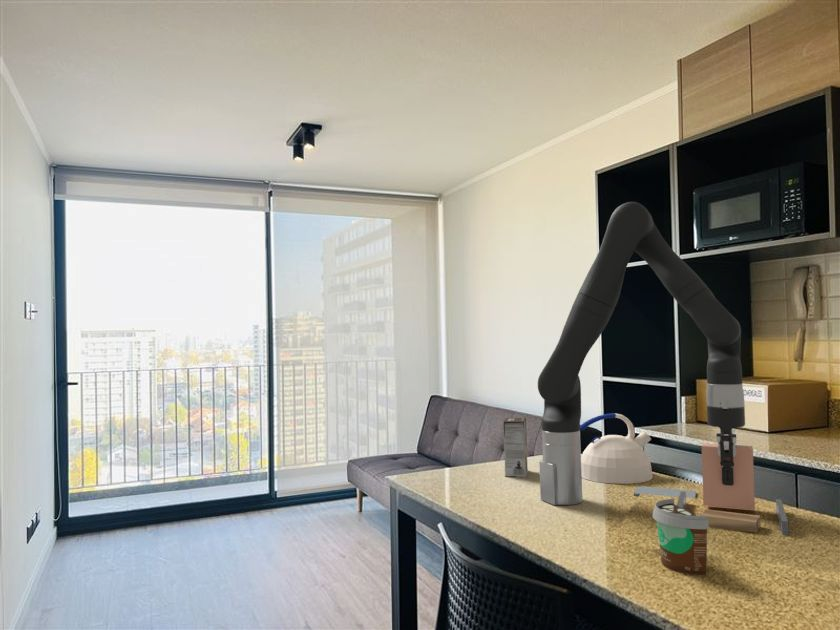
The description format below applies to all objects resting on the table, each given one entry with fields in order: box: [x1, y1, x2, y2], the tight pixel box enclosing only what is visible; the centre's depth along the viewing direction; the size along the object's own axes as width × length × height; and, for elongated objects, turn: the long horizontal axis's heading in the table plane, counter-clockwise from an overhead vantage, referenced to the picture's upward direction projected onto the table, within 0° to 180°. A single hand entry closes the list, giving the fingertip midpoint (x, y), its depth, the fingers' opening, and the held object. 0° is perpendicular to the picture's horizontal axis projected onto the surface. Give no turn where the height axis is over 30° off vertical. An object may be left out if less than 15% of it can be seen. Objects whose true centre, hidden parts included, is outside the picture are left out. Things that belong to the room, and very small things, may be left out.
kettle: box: [580, 412, 653, 485], centre depth 179 cm, size 20×21×18 cm
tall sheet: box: [701, 442, 756, 511], centre depth 137 cm, size 4×10×13 cm, turn 63°
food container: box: [652, 498, 710, 576], centre depth 108 cm, size 12×6×10 cm, turn 5°
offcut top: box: [700, 509, 761, 534], centre depth 125 cm, size 5×10×2 cm, turn 54°
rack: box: [676, 491, 790, 537], centre depth 131 cm, size 18×20×4 cm
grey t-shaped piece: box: [633, 485, 697, 499], centre depth 156 cm, size 8×14×1 cm, turn 63°
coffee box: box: [503, 417, 528, 478], centre depth 185 cm, size 9×6×16 cm
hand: (727, 482), depth 136 cm, fingers closed on tall sheet, 4 cm apart
